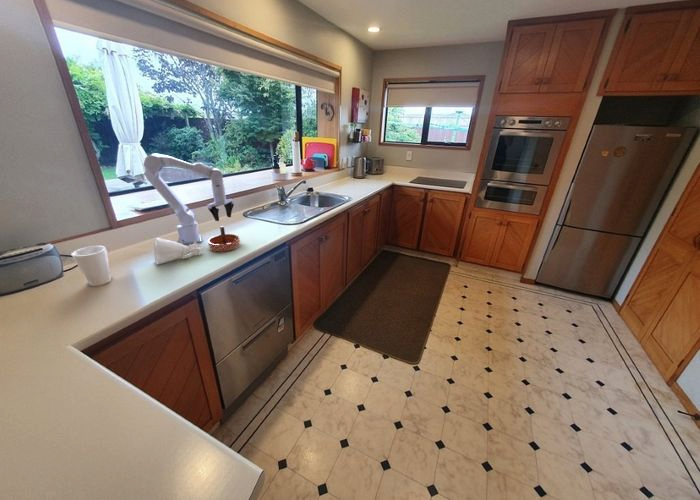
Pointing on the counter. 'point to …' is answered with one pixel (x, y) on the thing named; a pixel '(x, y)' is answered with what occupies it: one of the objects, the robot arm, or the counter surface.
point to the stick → (223, 234)
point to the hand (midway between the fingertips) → (223, 218)
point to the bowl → (217, 244)
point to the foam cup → (93, 264)
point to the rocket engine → (173, 250)
